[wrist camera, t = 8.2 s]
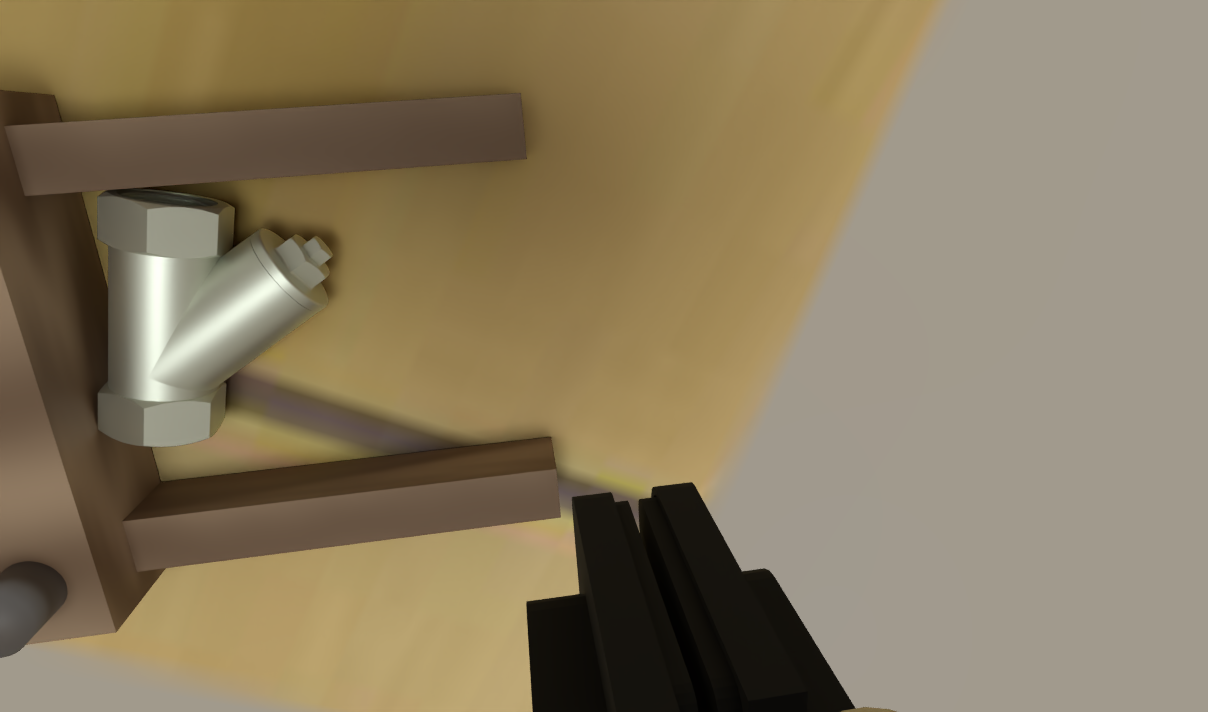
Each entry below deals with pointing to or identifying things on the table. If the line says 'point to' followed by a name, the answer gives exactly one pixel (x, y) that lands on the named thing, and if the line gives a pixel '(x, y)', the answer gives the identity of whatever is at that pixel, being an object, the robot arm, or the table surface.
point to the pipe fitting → (191, 309)
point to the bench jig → (80, 367)
